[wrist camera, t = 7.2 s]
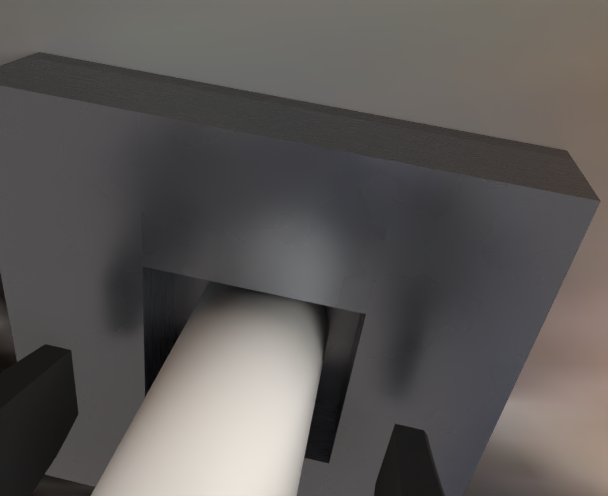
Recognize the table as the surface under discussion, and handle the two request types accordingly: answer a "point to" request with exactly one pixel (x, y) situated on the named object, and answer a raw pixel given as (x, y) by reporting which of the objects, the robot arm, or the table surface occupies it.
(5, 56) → the table surface
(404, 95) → the table surface
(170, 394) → the peg
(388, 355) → the socket block
